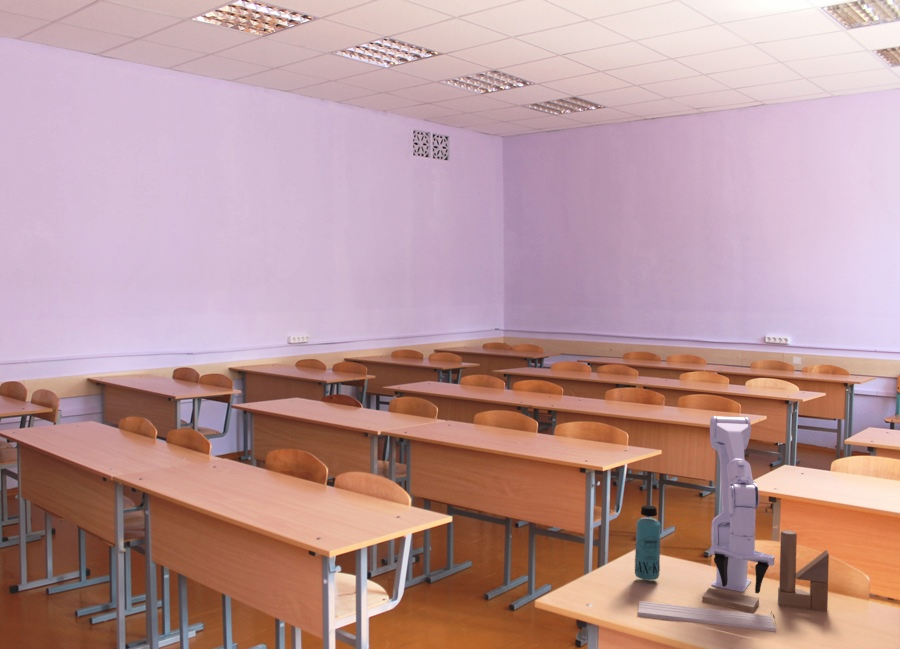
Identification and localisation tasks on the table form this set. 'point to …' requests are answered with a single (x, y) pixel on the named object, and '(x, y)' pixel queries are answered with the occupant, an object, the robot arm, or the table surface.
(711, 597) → the plank
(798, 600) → the wooden block
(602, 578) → the table surface
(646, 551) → the beverage bottle
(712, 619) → the baseboard
